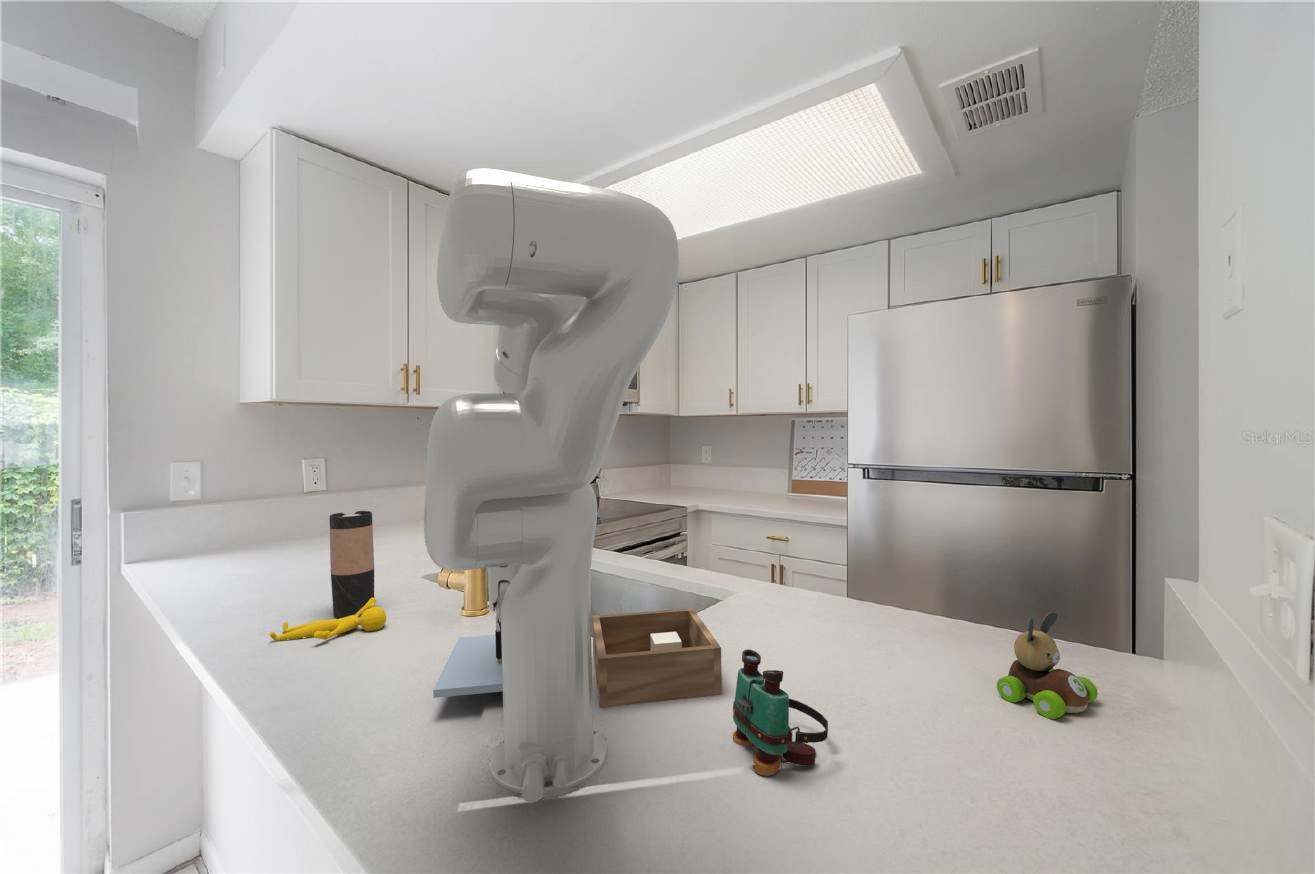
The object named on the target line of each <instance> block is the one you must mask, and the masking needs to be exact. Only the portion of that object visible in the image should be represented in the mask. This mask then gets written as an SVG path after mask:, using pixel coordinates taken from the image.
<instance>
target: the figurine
mask: <svg viewBox="0 0 1315 874" xmlns="http://www.w3.org/2000/svg"><path fill="white" fill-rule="evenodd" d="M376 602H377V599H376V598H375V597H374V598H370V600H369V601H368V602H367V603H366V605H365V606H364V607H363V608H362V609H360V610H359V611H358V612H357V613H356V614H355V615H351V616H348V617H344V618H340V619H337V618H333V619H319V620H314V621H312V622H308V623H303V624H299V625H295V626H293V627H289V623H288V621H285V622H283V624H282V632H283V633H282V634H280V635H277V634H276V632H275V631H271V632H270V633H269V636H270V638H271V639H272V640H273V641H276V642H281V641H280V640H284V641H288V640H287V639H294V640H297V639H296V638H303V637H310V638H314V639H319V640H324V641H325V640H328V639H329V640H330V638H333V637H335V636H337V635H340V634H342V633H343V634H344V633H347V632H349V631H351V630H353V629H356V627H358V626H360V627H361V628H362V629H363V630H364V631H366V632H374V631H373V630H375V631H378V629H379V630H380V629H382V628H383V627H384V626H385V624H386V622H387V613H386V611H385V609H384V608H382V607H380V606H379V607H378V606H376V605H375V604H376ZM362 613H363V614H362ZM361 614H362V615H361ZM360 615H361V617H359V616H360ZM313 636H314V637H313ZM303 639H304V638H303Z"/></svg>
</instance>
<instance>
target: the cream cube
mask: <svg viewBox="0 0 1315 874" xmlns="http://www.w3.org/2000/svg"><path fill="white" fill-rule="evenodd" d="M650 644H651V651H654V650H665V649H676V648H682V641H681V640H680V638H679V636H678V634H677V632H666V633H654V634H650Z"/></svg>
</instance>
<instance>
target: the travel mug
mask: <svg viewBox="0 0 1315 874" xmlns="http://www.w3.org/2000/svg"><path fill="white" fill-rule="evenodd" d="M373 525H374V524H373V512H372V511H369V510H358V511H357V510H356V511H355V512H354V513H350V514H345V513H344V512H337V513H332V514H330V515H329V545H330V546H329V551H330V552H329V554H330V555H329V556H330V557H329V558H330V559H329V560H330V584H331V585H330V586H331V598H332V599H331V600H332V610H333V612H332V613H333V617H334V619H337V618H339V619H340V618H344V617H348V616H351V615H355V614H356V613H357V612H358V611H359V610H360V609H362V608H363V607H364V606H365V605H366V603H367V602H368V601H369V600H370V598H375V553H374V551H375V550H374V528H373ZM362 614H363V613H362ZM362 614H361V615H362ZM361 615H360V616H361Z"/></svg>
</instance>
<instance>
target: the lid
mask: <svg viewBox="0 0 1315 874" xmlns="http://www.w3.org/2000/svg"><path fill="white" fill-rule="evenodd" d="M453 646H454V647H453V649H452V651H451V652H450V655H449V656H448V658H447V661H446V663H445V665H444V667H443V669H442V671H441V673H440V675H439V677H438V679H437V682H436V684H435V686H434V687H433V699H438V698H448V697H458V696H467V695H468V696H469V695H477V694H488V693H499V692H503V679H502V659H497V658H496V636H495V634H489V635H487V634H485V635H484V634H483V635H473V636H463V637H462V636H459V637H458V639H457V640H456V643H455V644H454V645H453Z"/></svg>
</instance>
